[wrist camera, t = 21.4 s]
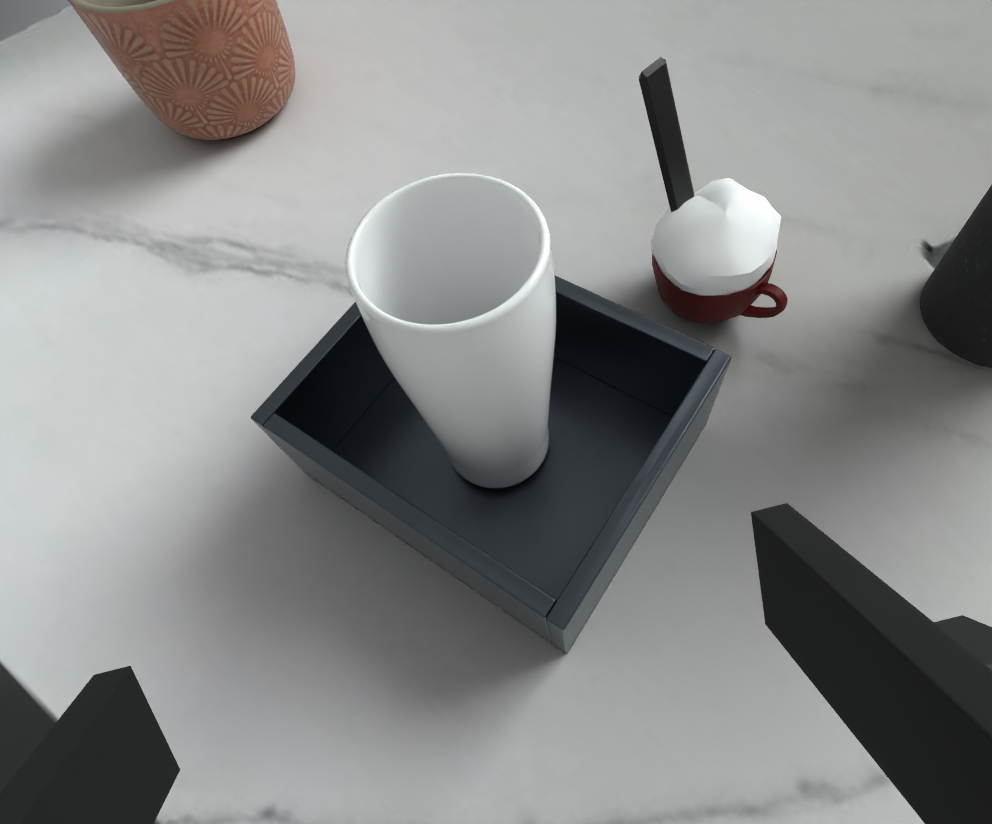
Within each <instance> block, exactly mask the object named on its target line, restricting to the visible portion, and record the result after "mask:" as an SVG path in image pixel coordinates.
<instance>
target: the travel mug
mask: <svg viewBox="0 0 992 824" xmlns="http://www.w3.org/2000/svg"><path fill="white" fill-rule="evenodd" d="M920 305H921V312H922V316H923V319H924V321H925V323H926V325H927V327H928V329H929V330H930V331H931V333H932V334H933V335H934V336H935V337H936V338H937V340H938V341H939V342H941V343H942V344H943V345H944V346H945V347H947V348H948V349H949V350H951V351H952V352H954V353H955V354H957V355H959V356H961V357H963V358H965V359H967V360H969V361H971V362H974V363H977V364H980V365H984V366H988V367H992V185H991V187H990V188H989V190H988V191H987V193H986V194H985V196H984V197H983V198H982V200H981V201H980V203H979V204H978V206H977V207H976V209H975V210H974V212H973V213H972V215H971V216H970V218H969V219H968V221H967V222H966V224H965V225H964V227H963V228H962V230H961V231H960V233H959V234H958V235H957V237H956V238H955V240H954V241H953V243H952V244H951V246H950V247H949V249H948V250H947V252H946V253H945V255H944V256H943V258H942V259H941V261H940V262H939V264H938V265H937V267H936V268H935V270H934V271H933V273H932V274H931V276H930V278H929V279H928V281H927V283H926V284H925V286H924V289H923V291H922V295H921V301H920Z"/></svg>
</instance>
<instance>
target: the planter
mask: <svg viewBox="0 0 992 824" xmlns="http://www.w3.org/2000/svg"><path fill="white" fill-rule="evenodd" d="M68 1H69V2H70V4H71V5H72V6H73V8H74V9H75V11H76V12H77V13H78V15H79V16H80V18H81V19H82V20H83V22H84V23H85V24H86V26H87V27H88V29H89V30H90V31H91V33H92V34H93V36H94V37H95V38H96V40H97V41H98V43H99V44H100V45H101V47H102V48H103V49H104V51H105V52H106V54H107V55H108V56H109V58H110V59H111V60H112V62H113V63H114V64H115V66H116V67H117V69H118V70H119V71H120V73H121V74H122V75H123V77H124V78H125V79H126V81H127V82H128V83H129V85H130V86H131V87H132V88H133V90H134V91H135V92H136V94H137V95H138V96H139V97H140V99H141V100H142V101H143V102H144V103H145V104H146V106H147V107H148V108H149V109H150V110H151V111H152V113H153V114H154V115H155V116H156V117H157V118H158V119H159V120H160V121H162V122H163V123H164V124H165V125H166V126H168V127H169V128H171V129H172V130H174V131H175V132H177V133H179V134H182V135H184V136H187V137H191V138H195V139H202V140H220V139H227V138H231V137H236V136H239V135H242V134H245V133H248V132H250V131H252V130H254V129H256V128H258V127H260V126H261V125H263V124H264V123H266V122H267V121H269V120H270V119H271V118H272V117H274V116H275V115H276V114H277V113H278V112H279V111H280V110H281V108H282V107H283V106H284V105H285V103H286V102H287V100H288V98H289V96H290V95H291V92H292V90H293V86H294V82H295V63H294V57H293V53H292V49H291V45H290V42H289V38H288V35H287V31H286V28H285V25H284V22H283V19H282V16H281V14H280V11H279V8H278V5H277V2H276V0H68Z"/></svg>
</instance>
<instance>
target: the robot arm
mask: <svg viewBox="0 0 992 824" xmlns="http://www.w3.org/2000/svg"><path fill="white" fill-rule="evenodd" d="M751 516H752V524H753V531H754V539H755V547H756V555H757V562H758V570H759V578H760V586H761V593H762V601H763V609H764V617H765V624H766V625H767V627H768V628H769V629H770V630H771V632H772V633H773V634H774V635H775V637H776V638H777V639H778V640H779V642H780V643H781V644H782V645H783V647H784V648H785V649H786V650H787V652H788V653H789V654H790V655H791V657H792V658H793V659H794V660H795V662H796V663H797V664H798V665H799V667H800V668H801V669H802V670H803V672H804V673H805V674H806V675H807V677H808V678H809V679H810V680H811V682H812V683H813V684H814V685H815V687H816V688H817V689H818V690H819V692H820V693H821V694H822V695H823V697H824V698H825V699H826V700H827V702H828V703H829V704H830V705H831V707H832V708H833V709H834V710H835V712H836V713H837V714H838V715H839V717H840V718H841V719H842V720H843V722H844V723H845V724H846V725H847V727H848V728H849V729H850V730H851V732H852V733H853V734H854V735H855V737H856V738H857V739H858V740H859V742H860V743H861V744H862V745H863V747H864V748H865V749H866V750H867V752H868V753H869V754H870V755H871V757H872V758H873V759H874V760H875V762H876V763H877V764H878V765H879V767H880V768H881V769H882V770H883V772H884V773H885V774H886V775H887V777H888V778H889V779H890V780H891V782H892V783H893V784H894V785H895V787H896V788H897V789H898V790H899V792H900V793H901V794H902V795H903V797H904V798H905V799H906V800H907V802H908V803H909V804H910V805H911V807H912V808H913V809H914V810H915V812H916V813H917V814H918V815H919V817H920V818H921V819H922V820H923V822H924V823H925V824H992V627H989V626H987V625H985V624H982V623H980V622H977V621H975V620H973V619H970V618H968V617H965V616H963V615H962V616H958V617H954V618H950V619H946V620H942V621H938V622H932V621H931V620H930V619H929V618H928V617H926V616H925V615H924V614H923V613H921V612H920V611H919V610H918V609H916V608H915V607H914V606H913V605H912V604H910V603H909V602H908V601H907V600H905V599H904V598H903V597H902V596H900V595H899V594H898V593H897V592H896V591H894V590H893V589H892V588H891V587H889V586H888V585H887V584H886V583H884V582H883V581H882V580H881V579H880V578H878V577H877V576H876V575H875V574H873V573H872V572H871V571H870V570H869V569H867V568H866V567H865V566H864V565H862V564H861V563H860V562H859V561H857V560H856V559H855V558H854V557H853V556H851V555H850V554H849V553H848V552H846V551H845V550H844V549H843V548H841V547H840V546H839V545H838V544H837V543H835V542H834V541H833V540H832V539H830V538H829V537H828V536H827V535H825V534H824V533H823V532H822V531H821V530H819V529H818V528H817V527H816V526H814V525H813V524H812V523H811V522H810V521H808V520H807V519H806V518H805V517H803V516H802V515H801V514H800V513H798V512H797V511H796V510H795V509H794V508H792V507H791V506H790V505H789V504H787V503H786V504H782V505H778V506H774V507H770V508H766V509H762V510H758V511H754V512H751ZM179 771H180V768H179V766H178V764H177V762H176V760H175V758H174V756H173V754H172V752H171V750H170V747H169V745H168V743H167V741H166V739H165V737H164V735H163V733H162V731H161V729H160V727H159V724H158V722H157V720H156V718H155V716H154V714H153V712H152V710H151V708H150V706H149V704H148V702H147V699H146V697H145V695H144V693H143V691H142V689H141V687H140V685H139V683H138V681H137V679H136V677H135V674H134V672H133V670H132V668H131V666H128V667H124V668H120V669H116V670H112V671H108V672H104V673H100V674H96V675H94V676H93V677H92V678H91V679H90V681H89V682H88V683H87V684H86V686H85V687H84V688H83V690H82V691H81V692H80V693H79V695H78V696H77V697H76V698H75V700H74V701H73V702H72V703H71V705H70V706H69V707H68V708H67V710H66V711H65V712H64V714H63V715H62V716H61V717H60V719H59V720H58V721H57V722H56V724H55V725H54V726H53V727H52V729H51V730H50V731H49V733H48V734H47V735H46V736H45V738H44V739H43V740H42V741H41V743H40V744H39V745H38V746H37V748H36V749H35V750H34V752H33V753H32V754H31V755H30V757H29V758H28V759H27V760H26V762H25V763H24V764H23V765H22V767H21V768H20V769H19V770H18V772H17V773H16V774H15V776H14V777H13V778H12V779H11V781H10V782H9V783H8V784H7V786H6V787H5V788H4V789H3V791H2V792H1V793H0V824H153V823H154V821H155V819H156V817H157V815H158V813H159V811H160V809H161V807H162V805H163V803H164V801H165V799H166V797H167V795H168V793H169V791H170V789H171V787H172V785H173V783H174V781H175V779H176V777H177V775H178V773H179Z"/></svg>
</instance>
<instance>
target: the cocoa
mask: <svg viewBox="0 0 992 824" xmlns="http://www.w3.org/2000/svg"><path fill="white" fill-rule="evenodd" d="M639 82H640V86H641V90H642V94H643V98H644V102H645V106H646V110H647V115H648V119H649V123H650V127H651V131H652V135H653V139H654V143H655V147H656V151H657V156H658V160H659V164H660V168H661V172H662V176H663V180H664V184H665V188H666V192H667V197H668V201H669V205H670V207H669V209H668V210H667V211H666V213H665V214H664V215H663V217H662V218H661V220H660V221H659V222H658V224H657V225H656V228H655V231H654V234H653V237H652V241H651V248H652V265H653V270H654V274H655V278H656V282H657V286H658V290H659V293H660V296H661V298H662V300H663V301H664V302H665V303H666V304H667V305H668V306H669V307H670V308H671V309H672V310H673V311H674V312H675V313H676V314H678V315H680V316H682V317H685V318H687V319H690V320H692V321H695V322H709V323H717V322H721V321H724V320H727V319H730V318H733V317H736V316H738V315H742V316H746V317H756V318H767V317H774V316H776V315H778V314H779V313H781V312H782V311H783V310H784V309H785V307H786V305H787V297H786V295H785V293H784V292H783V291H782V290H781V289H780V288H779V287H777V286H775V285H772V284H768V281H769V278H770V275H771V272H772V269H773V265H774V261H775V257H776V254H777V250H776V249H777V241H778V234H779V227H780V220H781V216H780V215H779V214H778V213H777V212H776V211H775V210H774V209H773V208H772V206H771V205H770V204H769V202H768V201H767V200H766V198H765V197H763V196H761V195H759V194H757V193H754V192H752V191H750V190H748V189H746V188H745V187H743V186H741V185H740V184H738V183H737V182H735V181H734V180H732V179H731V178H725V179H719V180H714V181H712V182H710V183H709V184H707V185H706V186H704V187H703V188H701V189H700V190H699V191H697V192H696V193H694V192H693V187H692V182H691V177H690V173H689V168H688V163H687V159H686V154H685V149H684V144H683V140H682V135H681V130H680V126H679V121H678V116H677V111H676V107H675V102H674V97H673V93H672V88H671V83H670V78H669V74H668V69H667V64H666V60H665V59H663V58H661V57H660V58H659V59H658V60H656V61H655V62H654V63H652V64H651V65H650V66H649V67H647V68H646V69H645V70H643V71H642V72H641V74H640V76H639ZM760 294H765V295H769V296H770V297H771V298H773V299H774V301H775V302H776V307H770V308H764V307H754V306H752V305H751V304H752V303H753V302H754V301H755V300H756V299H757V298H758V297H759V295H760Z"/></svg>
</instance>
